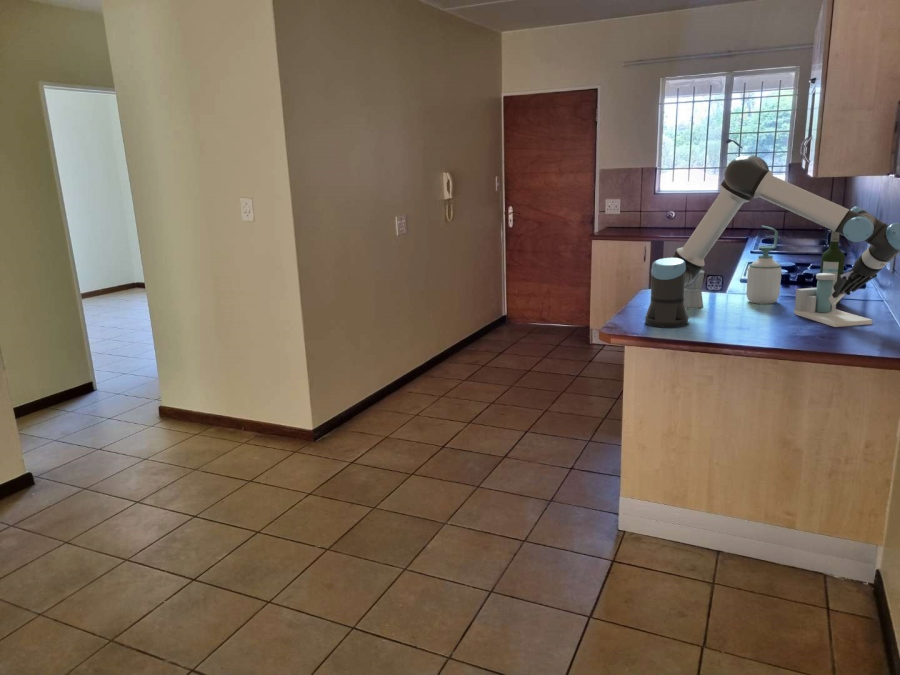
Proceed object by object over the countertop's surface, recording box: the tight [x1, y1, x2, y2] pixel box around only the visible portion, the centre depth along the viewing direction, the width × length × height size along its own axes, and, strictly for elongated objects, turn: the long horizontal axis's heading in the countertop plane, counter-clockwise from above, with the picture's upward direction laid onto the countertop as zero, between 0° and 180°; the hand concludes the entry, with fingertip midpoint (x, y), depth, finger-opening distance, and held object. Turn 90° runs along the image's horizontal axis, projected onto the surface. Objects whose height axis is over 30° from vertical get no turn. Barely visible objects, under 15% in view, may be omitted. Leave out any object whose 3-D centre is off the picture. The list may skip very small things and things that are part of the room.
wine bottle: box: [819, 230, 846, 306], centre depth 255 cm, size 8×8×30 cm
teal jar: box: [815, 272, 835, 312], centre depth 237 cm, size 6×6×14 cm
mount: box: [793, 287, 873, 328], centre depth 234 cm, size 22×14×10 cm, turn 7°
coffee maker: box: [684, 268, 707, 309], centre depth 263 cm, size 15×9×18 cm, turn 129°
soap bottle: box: [746, 224, 782, 305], centre depth 262 cm, size 12×12×31 cm
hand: (831, 301), depth 234 cm, fingers closed
